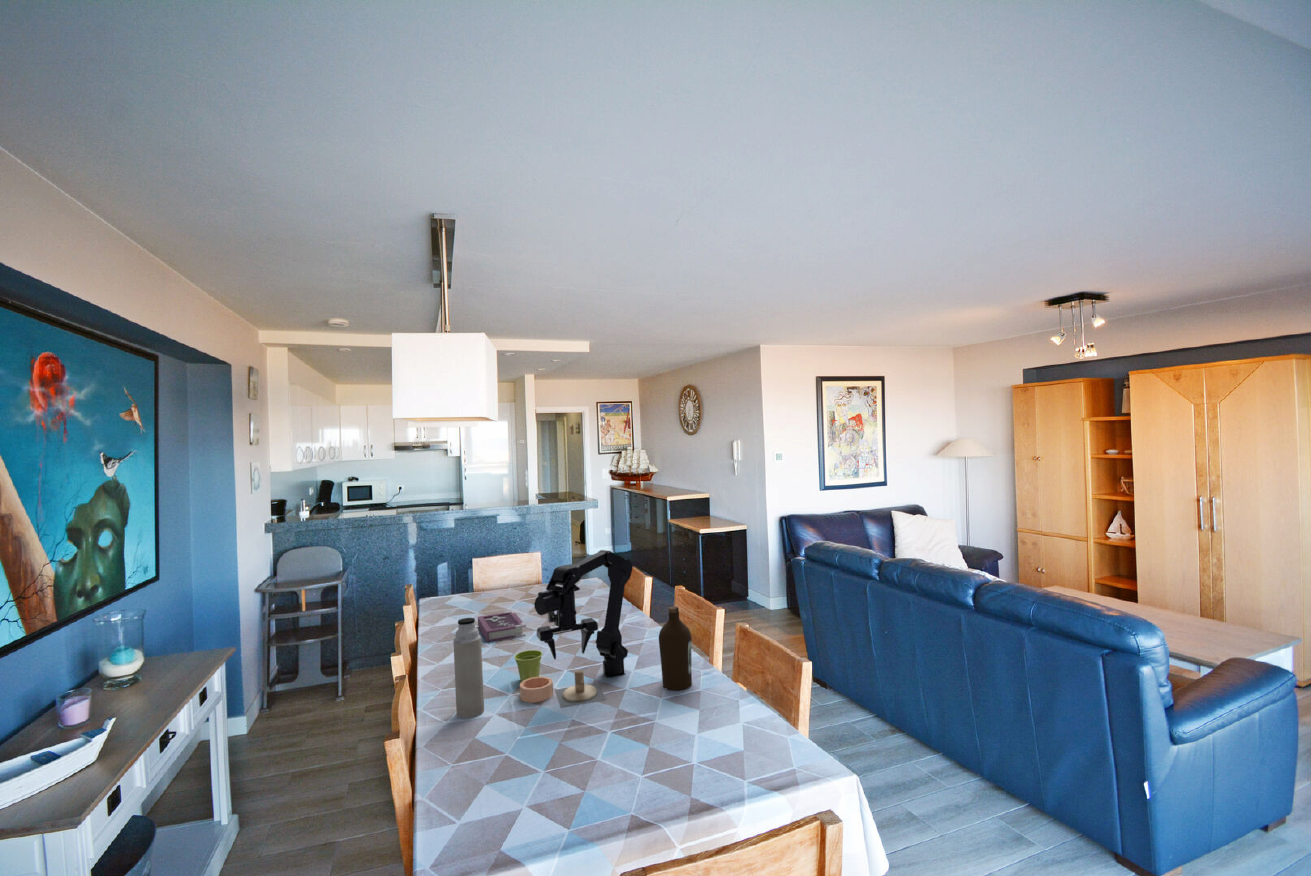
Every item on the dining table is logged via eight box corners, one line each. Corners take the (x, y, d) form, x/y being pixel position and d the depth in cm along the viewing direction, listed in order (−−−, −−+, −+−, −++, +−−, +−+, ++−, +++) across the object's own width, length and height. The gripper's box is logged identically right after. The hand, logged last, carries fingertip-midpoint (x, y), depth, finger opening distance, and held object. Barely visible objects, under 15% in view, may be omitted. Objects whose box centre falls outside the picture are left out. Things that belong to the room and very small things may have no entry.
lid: (593, 685, 192) (592, 663, 192) (599, 698, 182) (598, 675, 182) (561, 690, 189) (560, 669, 189) (566, 704, 179) (564, 680, 179)
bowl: (550, 688, 192) (550, 674, 192) (554, 700, 183) (554, 686, 183) (519, 693, 190) (518, 679, 190) (521, 706, 180) (521, 691, 180)
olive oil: (661, 692, 185) (657, 613, 185) (660, 679, 195) (656, 604, 196) (695, 690, 185) (691, 611, 186) (692, 677, 196) (688, 602, 196)
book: (526, 636, 249) (525, 624, 250) (487, 643, 243) (486, 631, 243) (514, 621, 272) (513, 610, 273) (478, 627, 266) (477, 616, 266)
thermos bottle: (467, 705, 183) (463, 614, 183) (489, 707, 180) (485, 616, 180) (450, 716, 175) (446, 622, 175) (473, 719, 172) (469, 623, 173)
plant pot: (537, 686, 195) (535, 660, 195) (510, 685, 197) (509, 659, 197) (547, 675, 204) (546, 650, 204) (522, 674, 206) (521, 649, 206)
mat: (597, 684, 194) (597, 682, 194) (606, 701, 180) (606, 699, 180) (555, 691, 190) (555, 689, 190) (560, 709, 176) (560, 707, 176)
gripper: (586, 596, 198) (589, 642, 198) (531, 606, 191) (534, 654, 190) (597, 604, 188) (600, 653, 188) (539, 614, 180) (542, 665, 180)
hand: (569, 656), depth 187 cm, fingers open, 9 cm apart
